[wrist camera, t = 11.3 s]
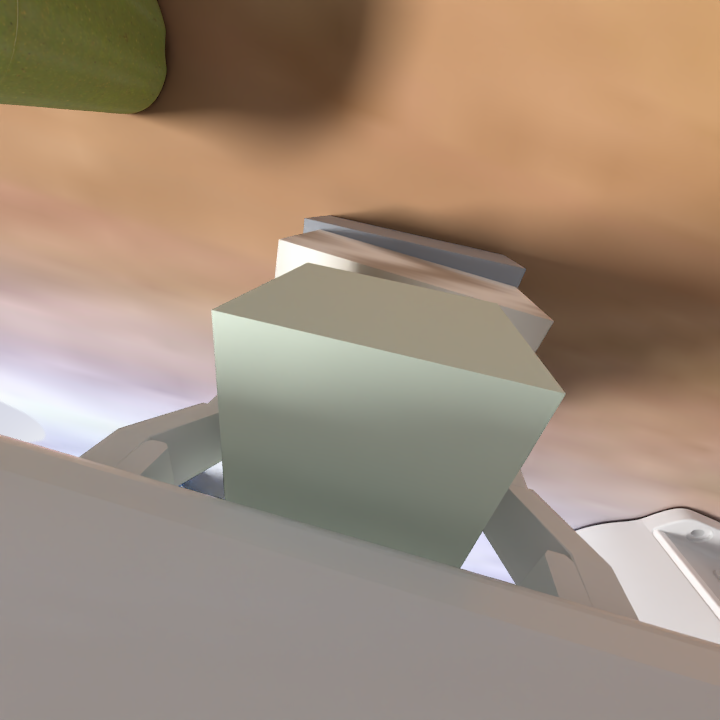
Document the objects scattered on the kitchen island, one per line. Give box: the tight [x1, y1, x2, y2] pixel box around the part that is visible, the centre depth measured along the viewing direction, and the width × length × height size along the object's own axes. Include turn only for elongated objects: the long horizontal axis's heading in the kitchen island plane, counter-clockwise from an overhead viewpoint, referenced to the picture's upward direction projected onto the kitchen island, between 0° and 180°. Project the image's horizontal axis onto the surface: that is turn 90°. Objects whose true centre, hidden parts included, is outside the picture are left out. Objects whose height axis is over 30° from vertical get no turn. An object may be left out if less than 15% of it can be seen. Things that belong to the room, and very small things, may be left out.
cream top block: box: [275, 229, 554, 352], centre depth 15 cm, size 10×10×5 cm
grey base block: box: [303, 215, 526, 289], centre depth 20 cm, size 11×11×5 cm
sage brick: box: [212, 262, 566, 568], centre depth 9 cm, size 6×9×5 cm, turn 170°
